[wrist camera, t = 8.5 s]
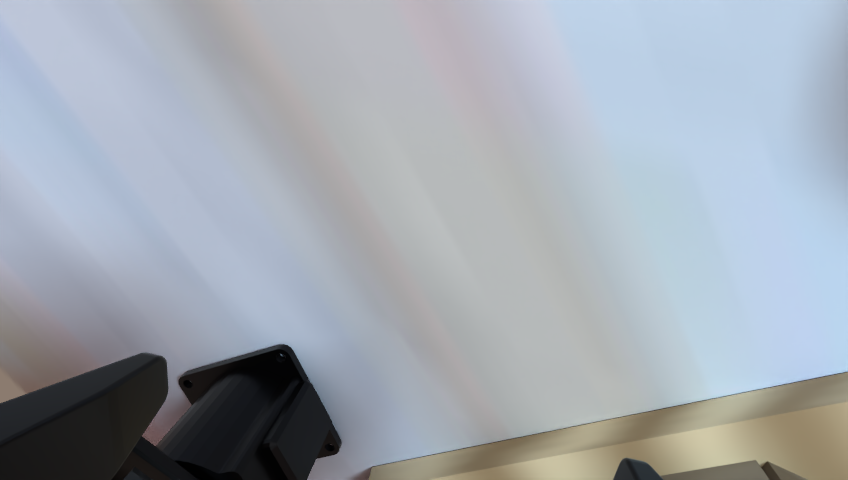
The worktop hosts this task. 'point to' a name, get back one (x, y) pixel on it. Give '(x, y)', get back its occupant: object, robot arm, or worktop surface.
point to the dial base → (673, 442)
